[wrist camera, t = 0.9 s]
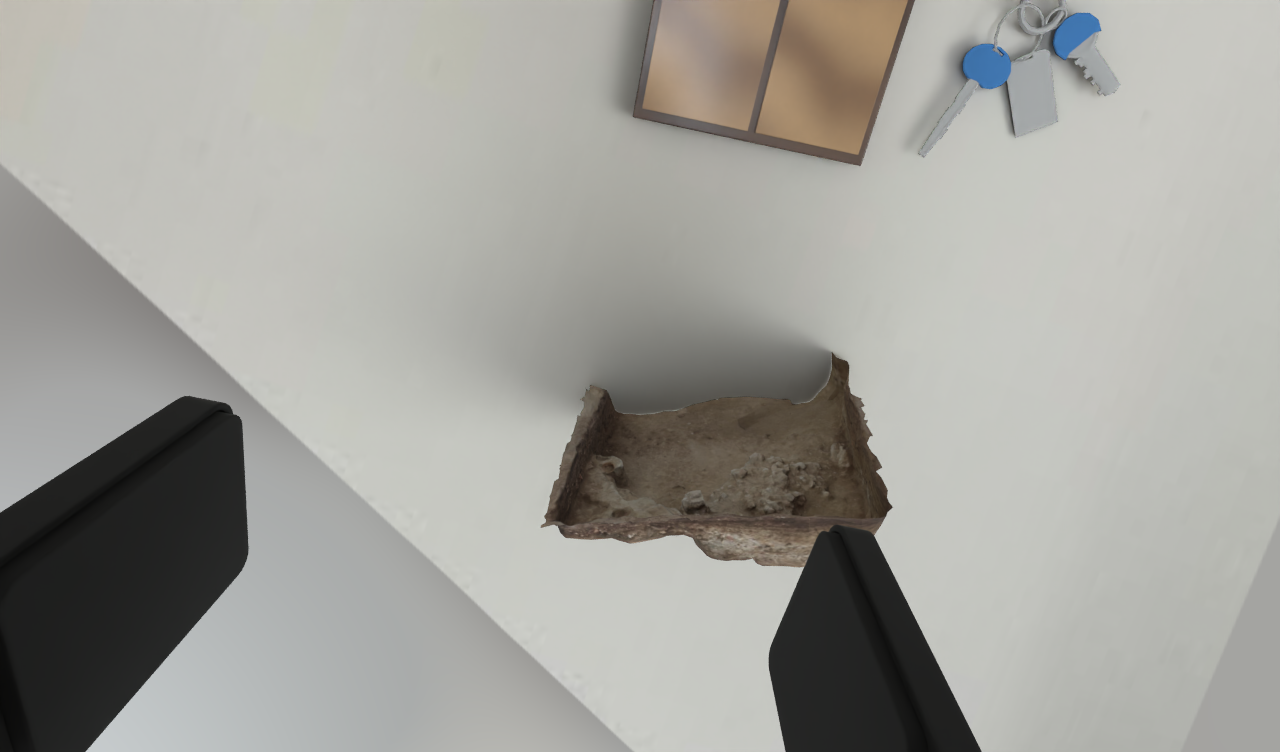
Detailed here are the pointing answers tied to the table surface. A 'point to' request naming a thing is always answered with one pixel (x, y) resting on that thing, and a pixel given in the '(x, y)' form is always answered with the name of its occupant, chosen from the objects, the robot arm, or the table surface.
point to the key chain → (1031, 71)
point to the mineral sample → (723, 474)
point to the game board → (773, 70)
